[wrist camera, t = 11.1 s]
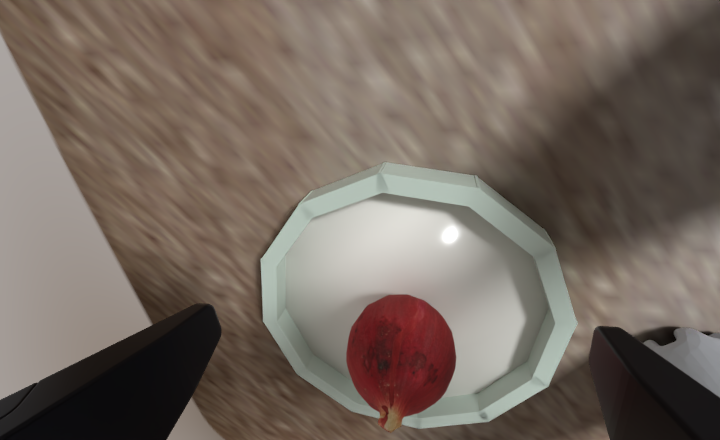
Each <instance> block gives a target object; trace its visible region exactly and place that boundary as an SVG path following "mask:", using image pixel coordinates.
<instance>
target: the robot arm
mask: <svg viewBox="0 0 720 440" xmlns="http://www.w3.org/2000/svg"><path fill="white" fill-rule="evenodd" d="M220 337H221V326H220V323H219V320H218V317H217V314H216V311H215V309H214V307H213V306H212V305H210V304H195V305H193V306H190V307H188V308H186V309H184V310H182V311H180V312H178V313H176V314H174V315H172V316H170V317H168V318H166V319H164V320H162V321H160V322H158V323H156V324H154V325H152V326H150V327H148V328H146V329H144V330H142V331H140V332H138V333H136V334H134V335H132V336H130V337H128V338H126V339H124V340H121V341H119V342H117V343H115V344H113V345H111V346H109V347H107V348H105V349H103V350H101V351H99V352H97V353H95V354H93V355H91V356H89V357H87V358H85V359H83V360H81V361H79V362H77V363H75V364H73V365H71V366H69V367H67V368H65V369H63V370H61V371H58V372H56V373H55V374H52V375H50V376H48V377H46V378H44V379H42V380H40V381H39V382H38V383H34V384H32V385H30V386H28V387H26V388H24V389H22V390H20V391H18V392H16V393H14V394H12V395H9V396H8V397H5V398H3V399H1V400H0V440H166V439H167V438H168V436H169V434H170V432H171V431H172V429H173V428H174V426H175V424H176V422H177V421H178V419H179V417H180V416H181V414H182V412H183V411H184V409H185V407H186V405H187V404H188V402H189V400H190V399H191V397H192V395H193V393H194V391H195V389H196V387H197V385H198V383H199V381H200V379H201V377H202V375H203V373H204V371H205V369H206V367H207V365H208V362H209V360H210V358H211V356H212V354H213V352H214V350H215V348H216V346H217V343H218V341H219V339H220ZM589 365H590V370H591V374H592V377H593V381H594V384H595V388H596V392H597V395H598V399H599V402H600V406H601V409H602V413H603V417H604V420H605V424H606V427H607V431H608V434H609V438H610V440H720V397H719V396H717V395H716V394H714V393H713V392H712V391H710V390H709V389H707V388H706V387H704V386H703V385H702V384H700V383H699V382H697V381H696V380H694V379H693V378H692V377H690V376H689V375H687V374H686V373H685V372H683V371H682V370H680V369H679V368H677V367H676V366H675V365H673V364H672V363H670V362H669V361H667V360H666V359H665V358H663V357H662V356H660V355H659V354H657V353H656V352H655V351H653V350H652V349H650V348H649V347H647V346H646V345H645V344H643V343H642V342H640V341H639V340H637V339H636V338H635V337H633V336H632V335H630V334H629V333H627V332H626V331H625V330H623V329H621V328H619V327H609V326H598V327H596V328H595V330H594V333H593V338H592V343H591V349H590V354H589Z"/></svg>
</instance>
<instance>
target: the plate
mask: <svg viewBox="0 0 720 440" xmlns="http://www.w3.org/2000/svg"><path fill="white" fill-rule="evenodd" d="M261 279H262V304H263V322H264V323H265V325H266V327H267V328H268V330H269V331H270V333H271V334H272V336H273V338H274V339H275V341H276V342H277V344H278V345H279V347H280V348H281V350H282V352H283V353H284V355H285V356H286V358H287V359H288V361H289V363H290V364H291V366H292V367H293V369H294V370H295V372H296V374H297V375H299V376H300V377H302V378H303V379H305V380H306V381H308V382H309V383H311V384H312V385H314V386H315V387H316V388H318V389H319V390H321V391H322V392H324V393H325V394H327V395H328V396H330V397H331V398H333V399H334V400H336V401H337V402H338V403H340V404H341V405H343V406H344V407H346V408H347V409H349V410H350V411H352V412H356V413H360V414H363V415H367V416H371V417H375V418H379V417H380V413H379V412H378V411H376V410H374V409H373V408H371V407H370V406H369V405H368V403H367V402H366V401H365V400H364V399H363V398H362V397H361V395H360V394H359V393H358V392H357V390H356V388H355V386H354V384H353V381H352V379H351V376H350V373H349V371H348V367H347V362H346V352H347V345H348V338H349V334H350V331H351V327H352V325H353V324H354V323H355V321H356V320H357V319H358V317H359V316H360V314H361V313H362V312H363V310H364V309H365V308H366V306H367V305H369V304H371V303H373V302H375V301H377V300H379V299H381V298H383V297H385V296H387V295H397V294H408V295H411V296H413V297H416V298H419V299H422V300H425V301H426V302H427V303H428V304H430V305H431V306H432V307H433V308H435V309H436V310H437V311H438V312H439V313H440V314H441V315H442V316H443V318H444V319H445V321H446V323H447V324H448V326H449V328H450V329H451V331H452V335H453V339H454V344H455V351H456V367H455V371H454V374H453V377H452V379H451V382H450V384H449V386H448V388H447V391H446V392H445V394H444V395H443V396H442V398H441V399H440V400H438V401H437V402H436V403H435V404H433V405H432V406H430V407H429V408H427V409H426V410H424V411H422V412H420V413H418V414H414V415H410V416H406V417H403V419H402V425H406V426H410V427H414V428H417V429H421V428H431V427H441V426H451V425H461V424H471V423H481V422H490V421H491V420H492V419H494V418H496V417H497V416H499V415H501V414H503V413H504V412H506V411H508V410H509V409H511V408H513V407H514V406H516V405H518V404H519V403H521V402H523V401H524V400H526V399H528V398H530V397H531V396H533V395H535V394H536V393H538V392H540V391H541V390H543V389H545V388H546V387H547V388H548V386H549V383H550V381H551V379H552V377H553V375H554V373H555V370H556V368H557V366H558V364H559V362H560V360H561V358H562V355H563V353H564V351H565V349H566V347H567V345H568V342H569V340H570V338H571V336H572V334H573V332H574V330H575V327H576V325H577V323H578V322H577V320H576V318H575V315H574V311H573V308H572V305H571V301H570V298H569V294H568V291H567V287H566V284H565V281H564V277H563V274H562V270H561V267H560V263H559V260H558V256H557V253H556V247H555V246H554V244H553V242H552V240H551V239H550V237H549V235H548V233H547V232H546V230H545V229H543V228H542V227H540V226H539V225H538V224H537V223H535V222H534V221H533V220H532V219H530V218H529V217H528V216H527V215H525V214H524V213H523V212H521V211H520V210H519V209H518V208H516V207H515V206H514V205H513V204H511V203H510V202H509V201H507V200H506V199H505V198H504V197H502V196H501V195H500V194H499V193H497V192H496V191H495V190H493V189H492V188H491V187H490V186H488V185H487V184H486V183H485V182H483V181H482V180H481V179H479V178H478V176H476V175H468V174H461V173H455V172H448V171H441V170H434V169H428V168H421V167H414V166H407V165H401V164H394V163H387V162H384V163H382V164H380V165H377V166H375V167H372V168H370V169H367V170H364V171H362V172H359V173H357V174H354V175H352V176H349V177H347V178H344V179H341V180H339V181H336V182H334V183H331V184H329V185H326V186H323V187H321V188H318V189H316V190H312V191H311V192H309V193H308V195H307V196H306V197H305V198H304V199H303V200H302V201H301V202H300V203H299V204H298V207H297V208H296V209H295V211H294V212H293V214H292V215H291V217H290V218H289V220H288V221H287V223H286V224H285V225H284V227H283V228H282V230H281V231H280V233H279V234H278V236H277V237H276V239H275V240H274V242H273V243H272V244H271V246H270V247H269V249H268V250H267V252H266V253H265V255H264V256H263V257H262V258H261Z"/></svg>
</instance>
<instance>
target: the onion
mask: <svg viewBox="0 0 720 440" xmlns="http://www.w3.org/2000/svg"><path fill="white" fill-rule="evenodd" d="M346 362H347V367H348V371H349V373H350V376H351V379H352V381H353V384H354V386H355V388H356V390H357V392H358V393H359V394H360V395H361V397H362V398H363V399H364V400H365V401H366V402H367V403H368V405H369V406H370V407H371V408H373V409H374V410H376V411H378V412H379V413H380V417H379V420H378V425H380V426H381V427H382V428H384V429H385V430H386V431H388V432H390V433H391V432H393V431H394V430H395V429H397V428H399V427H401V424H402V419H403V417H406V416H410V415H414V414H418V413H420V412H422V411H424V410H426V409H427V408H429V407H430V406H432V405H433V404H435V403H436V402H437V401H438V400H440V399H441V398H442V396H443V395H444V394H445V392H446V391H447V388H448V386H449V384H450V382H451V379H452V377H453V374H454V371H455V367H456V351H455V344H454V339H453V335H452V331H451V329H450V328H449V326H448V324H447V323H446V321H445V319H444V318H443V316H442V315H441V314H440V313H439V312H438V311H437V310H436V309H435V308H433V307H432V306H431V305H430V304H428V303H427V302H426V301H425V300H422V299H419V298H416V297H413V296H411V295H408V294H397V295H387V296H385V297H383V298H381V299H379V300H377V301H375V302H373V303H371V304H369V305H367V306H366V308H365V309H364V310H363V312H362V313H361V314H360V316H359V317H358V319H357V320H356V321H355V323H354V324H353V325H352V327H351V331H350V334H349V338H348V345H347V352H346Z"/></svg>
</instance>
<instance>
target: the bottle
mask: <svg viewBox="0 0 720 440" xmlns="http://www.w3.org/2000/svg"><path fill="white" fill-rule="evenodd" d="M674 336H675V337H676V341H675V342H672V343H670V344H667V345H665V346H659V345H658V344H657V343H656V342H655V341H653V340H647V341H645V342H644V343H643V344H645V345H646V346H647V347H649V348H650V349H652V350H653V351H655V352H656V353H657V354H659V355H660V356H662V357H663V358H665V359H666V360H667V361H669V362H670V363H672V364H673V365H675V366H676V367H677V368H679V369H680V370H682V371H683V372H685V373H686V374H687V375H689V376H690V377H692V378H693V379H694V380H696V381H697V382H699V383H700V384H702V385H703V386H704V387H706V388H707V389H709V390H710V391H712V392H713V393H714V394H716V395H717V396H719V397H720V333H713V334H711V335H709V336H707V335H705V334H703V333H701V332H699V331H697V330H694V329H692V328H678V329H676V330H675V331H674Z"/></svg>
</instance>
